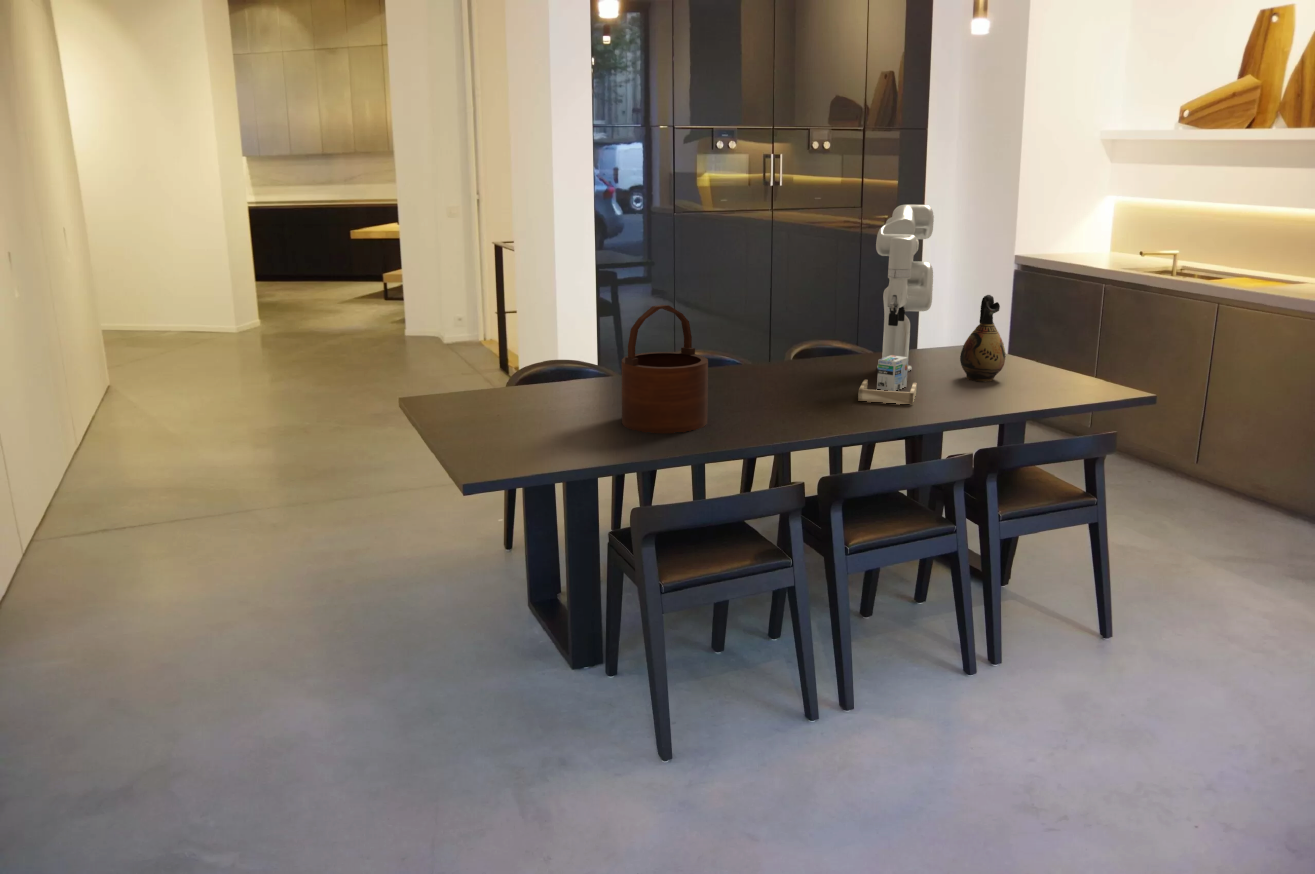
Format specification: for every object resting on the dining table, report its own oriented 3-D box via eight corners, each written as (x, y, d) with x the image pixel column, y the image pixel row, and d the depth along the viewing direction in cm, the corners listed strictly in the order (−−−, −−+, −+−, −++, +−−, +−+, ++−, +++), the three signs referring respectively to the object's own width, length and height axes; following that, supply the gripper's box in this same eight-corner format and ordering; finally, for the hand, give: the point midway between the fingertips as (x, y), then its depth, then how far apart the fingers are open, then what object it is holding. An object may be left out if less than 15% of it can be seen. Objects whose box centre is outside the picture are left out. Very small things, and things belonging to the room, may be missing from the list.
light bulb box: (894, 392, 347) (896, 361, 344) (875, 390, 351) (877, 359, 348) (907, 387, 355) (909, 356, 353) (889, 384, 359) (891, 354, 357)
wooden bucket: (725, 422, 308) (727, 306, 299) (664, 438, 291) (664, 316, 282) (665, 408, 326) (665, 298, 317) (604, 422, 309) (602, 306, 299)
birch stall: (863, 391, 349) (864, 379, 348) (916, 394, 344) (916, 382, 343) (858, 401, 334) (858, 389, 333) (912, 405, 329) (913, 393, 328)
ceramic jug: (1009, 384, 360) (1017, 299, 353) (965, 383, 361) (972, 298, 353) (994, 374, 377) (1002, 292, 369) (952, 373, 377) (959, 292, 369)
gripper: (894, 270, 359) (891, 318, 364) (882, 276, 344) (879, 326, 349) (915, 271, 356) (912, 320, 361) (904, 277, 341) (901, 328, 346)
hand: (896, 323), depth 355 cm, fingers open, 9 cm apart
